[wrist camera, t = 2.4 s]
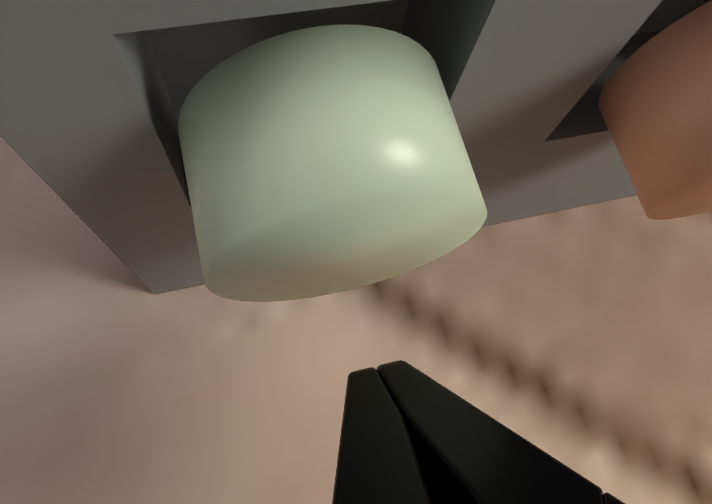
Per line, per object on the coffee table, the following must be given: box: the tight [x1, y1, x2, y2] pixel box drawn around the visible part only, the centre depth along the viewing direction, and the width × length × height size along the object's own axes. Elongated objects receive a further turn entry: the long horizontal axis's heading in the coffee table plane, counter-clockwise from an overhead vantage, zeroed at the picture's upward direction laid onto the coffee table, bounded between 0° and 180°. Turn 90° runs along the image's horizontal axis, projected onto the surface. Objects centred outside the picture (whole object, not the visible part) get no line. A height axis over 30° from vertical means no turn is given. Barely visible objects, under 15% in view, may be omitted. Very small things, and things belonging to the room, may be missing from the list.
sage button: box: [178, 25, 487, 302], centre depth 9 cm, size 2×4×4 cm, turn 104°
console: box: [0, 0, 711, 294], centre depth 12 cm, size 4×17×12 cm, turn 105°
